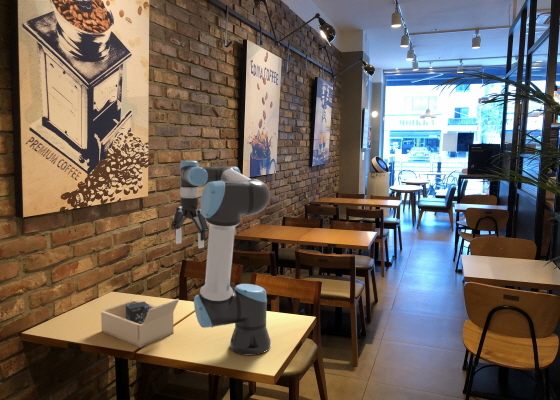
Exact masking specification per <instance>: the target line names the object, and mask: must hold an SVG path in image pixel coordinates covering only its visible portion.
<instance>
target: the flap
mask: <svg viewBox="0 0 560 400" xmlns="http://www.w3.org/2000/svg"><path fill="white" fill-rule="evenodd" d="M179 301H180V300H179V298H176V299H174V300H170V301H168V302H165V303H163V304H159V305H156V306H157V307H154V308H151V309H149V311H148V313H147V316H146V318H145V320H144V324H145V323H148V322H150V321H153V320H155V319H158V318H161V317H163V316H166V315H168V314H171V313H173V314H174V312H175V309H176V308H177V305H178V303H179Z"/></svg>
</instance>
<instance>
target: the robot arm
mask: <svg viewBox="0 0 560 400" xmlns="http://www.w3.org/2000/svg"><path fill="white" fill-rule="evenodd" d="M179 166H180V167H179V170H180V171H179V173H180V174H179V176H180V191H179V192H180V206H176V208H175V209H176V210H175V214H174V217H173V220H172V223H171V228H174V235H175V245H179V244H182V243H183V241H182V240H183V236H182V235H183V233H182V232H183V231H182V230H183V229H182V226H183V224H184V222H185V221H186V220H187V219H189V220H192V221H193V223H194V225H195V226H196V228H197V230H198V231H199V232H198V233H197V236H198V237H197V241H198V242H197V243H198V244H197V245H198V249H203V248H205V240H206V232H208V241H207V251H206V253H207V255H206V265H205V266H206V267H205V282H204V285H203V286H201V287H200V290H199V294H196V295H195V296H194V297H193V305H194V306H193V307H194V311H195V317H196V320H197V322H198V324H199V326H200V327H201V328H203V329H204V328H205V329H207V328H214V327H221V326H225V325H233V324H234V329H233V331H232V334H231V339H230V343H229V345H230V347H231V348H230V349H232V350H233V352H234V351H235V352H234V353H236V352H237V353H236V354H238V353H240V354H239V355H242V354H258V353H262V352H264V351H266V350H268V349H269V348H270V349H271V346H270V345H271V341H272V340H271V337H270V334H269V331H268V328H267V308H268V306H267V305H268V299H267V291H266V289H265V288H264V287H262V286H260V285H256V284H251V283H240V284H237V285H235V288H234V289H233V288H232V287H231V284H230V283H231V275H232V274H231V273H232V264H233V253H234V242H235V231H236V227H237V226H239V224H240V223H241V220H242V219H241V218H242V216H252V215H257V214H259V213H261V212H262V211H263V210H264V209H266V207H267V206H268V204H269V203H270V200H271V191H270V189H269V187H268V185H267V184H266V183H265V182H263V181H262V180H260V179H256V178H250V177H248V176H245V175H244V174H242V173H241V170H240V168H239V167H237V166H231V165H227V166H199V162H198V161H197V160H182V161H181V162H180V165H179ZM201 186H203V189H202V191H201V195H200V201H199V187H201ZM199 202H200V204H199ZM199 205H200V209H198V206H199ZM208 225H209V226H208ZM270 349H269V350H270ZM232 350H231V351H232ZM269 350H268V351H269ZM266 352H267V351H266ZM264 353H265V352H264ZM262 354H263V353H262ZM258 355H259V354H258Z"/></svg>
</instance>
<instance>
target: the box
mask: <svg viewBox="0 0 560 400" xmlns="http://www.w3.org/2000/svg"><path fill="white" fill-rule="evenodd" d="M147 303H148V302H146V301H145V300H144V301H142V302H139V303H134V304H129V305H126V319H127V320H129V321H132V322H135V323H138V324H140V325H141V324H143V323H144V320H145V318H146V316H147V313H148V311H149V305H148V304H149V303H148V304H147Z"/></svg>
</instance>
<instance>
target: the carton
mask: <svg viewBox="0 0 560 400" xmlns="http://www.w3.org/2000/svg"><path fill="white" fill-rule="evenodd" d="M139 302H143V301H141V300H139V299H134V300H128V301H126V302H125V301H124V302H122V303H119V304H116V305H112V306H109V307H107V308H103V309H102V310H101V311H100V316H101V317H100V319H101V320H100V321H101V333H104V334H106V335H108V336H111V337H114V338H116V339H119V340H121V341H123V342H126V343H128V344H131V345H132V346H136V347H138V348H143V347H145V346H146V347H147V346H148V345H150V344H152V343H153V344H154V342H157V341H159V340H161V339H164V338H167V337H168V336H170V335H173V334H174V332H175V331H174V312H173V313H171V314H168V315H166V316H163V317H161V318H158V319H155V320H153V321H150V322H148V323H145V324H144V323H143V324H141V325H140V324H138V323H135V322H132V321H129V320H127V319H126V305H129V304H134V303H139ZM146 303H147V304H148V305H149V309H151V308H154V307H157V306H158V305H155V304H154V305H153V304H151V303H148V302H146Z"/></svg>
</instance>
